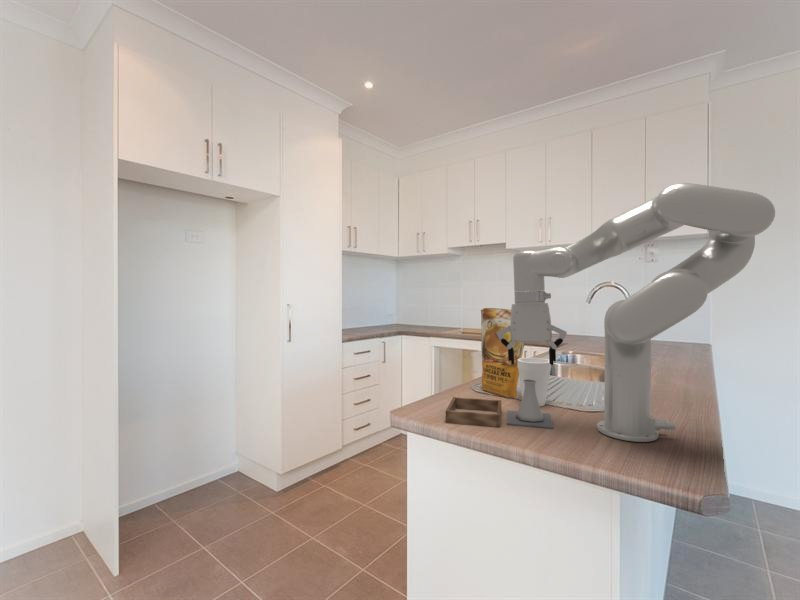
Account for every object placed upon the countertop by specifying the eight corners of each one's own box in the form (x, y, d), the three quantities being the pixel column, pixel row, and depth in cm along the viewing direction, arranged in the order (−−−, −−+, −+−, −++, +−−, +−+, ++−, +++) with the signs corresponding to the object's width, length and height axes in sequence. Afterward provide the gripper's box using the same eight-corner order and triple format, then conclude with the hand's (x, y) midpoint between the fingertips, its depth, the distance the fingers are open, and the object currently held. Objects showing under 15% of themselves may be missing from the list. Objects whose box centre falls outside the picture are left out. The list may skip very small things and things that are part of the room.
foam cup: (515, 398, 123) (515, 357, 123) (546, 399, 122) (546, 357, 122) (520, 407, 114) (520, 363, 114) (553, 408, 113) (554, 363, 112)
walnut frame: (501, 410, 111) (501, 400, 111) (499, 427, 98) (499, 415, 98) (453, 407, 115) (453, 397, 115) (445, 422, 102) (445, 410, 102)
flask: (540, 414, 107) (540, 377, 106) (547, 423, 99) (547, 383, 99) (512, 413, 107) (512, 377, 107) (518, 422, 100) (518, 383, 100)
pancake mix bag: (488, 385, 140) (487, 307, 140) (530, 397, 124) (530, 309, 123) (473, 388, 137) (473, 308, 136) (515, 401, 121) (515, 310, 120)
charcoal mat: (549, 414, 107) (549, 413, 107) (553, 428, 97) (553, 427, 97) (507, 411, 110) (507, 410, 110) (506, 424, 100) (507, 423, 100)
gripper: (563, 297, 104) (565, 361, 104) (496, 299, 108) (498, 361, 109) (567, 297, 96) (569, 366, 97) (494, 299, 101) (497, 366, 101)
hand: (531, 363), depth 103 cm, fingers open, 9 cm apart
